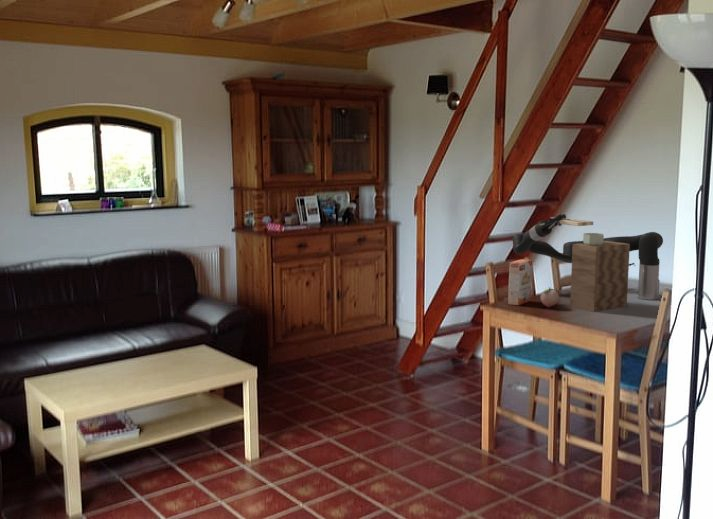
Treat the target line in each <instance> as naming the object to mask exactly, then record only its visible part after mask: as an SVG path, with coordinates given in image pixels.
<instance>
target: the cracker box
mask: <svg viewBox="0 0 713 519" xmlns="http://www.w3.org/2000/svg"><path fill="white" fill-rule="evenodd" d="M532 265H533V260H532V259H524V258H521V259H518V260H514V261H511V262H509V267H508V271H509V272H508V294H507V296H508V297H507V298H508V299H507V305H510V306H516V305H517V306H521V305H523V304H527V303H529V302H531V290H532V289H531V288H532ZM517 306H516V307H517Z"/></svg>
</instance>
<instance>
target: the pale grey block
mask: <svg viewBox="0 0 713 519" xmlns="http://www.w3.org/2000/svg"><path fill="white" fill-rule="evenodd" d="M582 237H583V240H582V241H583V243H584V245H588V246H601V245H602V243H603V239H604V238H605V236H604V234H603V233H598V232H587V233H583V236H582Z"/></svg>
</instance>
